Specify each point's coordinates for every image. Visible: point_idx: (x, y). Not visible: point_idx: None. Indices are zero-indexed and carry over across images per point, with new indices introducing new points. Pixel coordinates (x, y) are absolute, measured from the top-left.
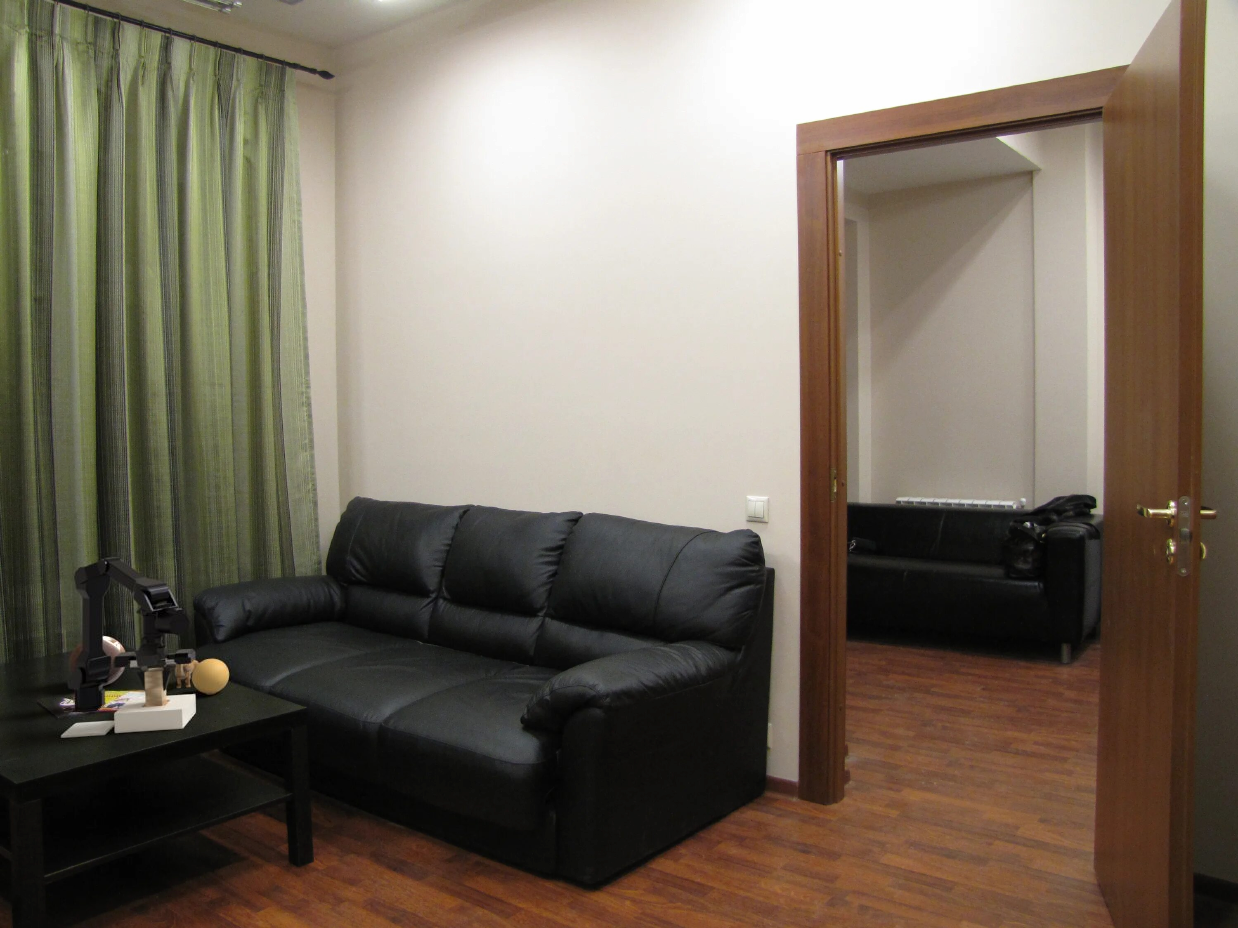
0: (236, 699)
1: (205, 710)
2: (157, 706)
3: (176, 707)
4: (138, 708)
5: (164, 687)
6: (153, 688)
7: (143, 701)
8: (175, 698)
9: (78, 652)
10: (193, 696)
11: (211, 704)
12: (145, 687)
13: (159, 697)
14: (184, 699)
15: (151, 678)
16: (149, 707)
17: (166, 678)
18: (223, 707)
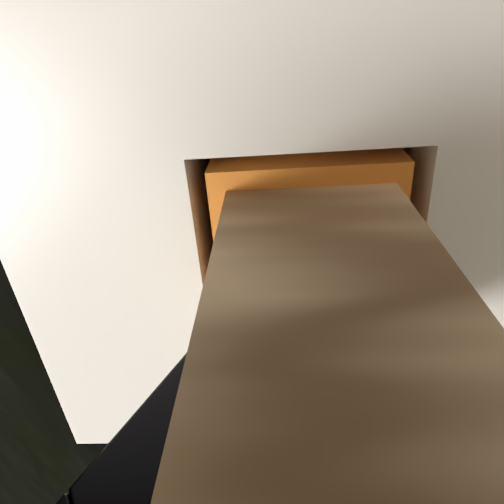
0: (19, 486)
1: None
2: (258, 144)
3: (5, 59)
4: (465, 95)
5: None
6: (336, 305)
7: None
8: None
9: None
10: (61, 399)
11: (103, 445)
12: (487, 318)
13: (247, 232)
14: (87, 334)
15: (425, 485)
16: (340, 118)
17: (88, 495)
18: (8, 396)
